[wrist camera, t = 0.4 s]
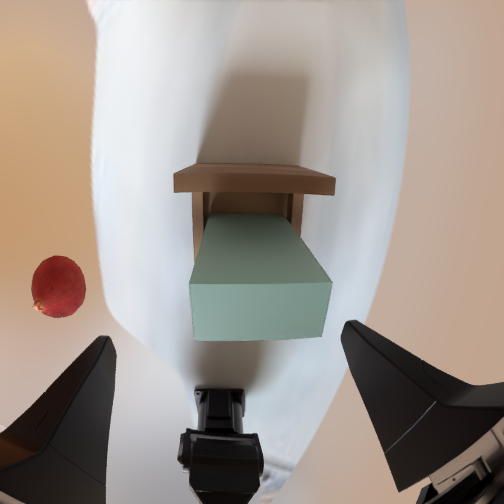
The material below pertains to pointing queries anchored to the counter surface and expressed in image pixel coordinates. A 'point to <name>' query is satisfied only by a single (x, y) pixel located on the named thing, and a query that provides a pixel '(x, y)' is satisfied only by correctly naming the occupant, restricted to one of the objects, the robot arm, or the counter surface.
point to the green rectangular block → (256, 281)
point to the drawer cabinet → (249, 191)
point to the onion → (58, 287)
